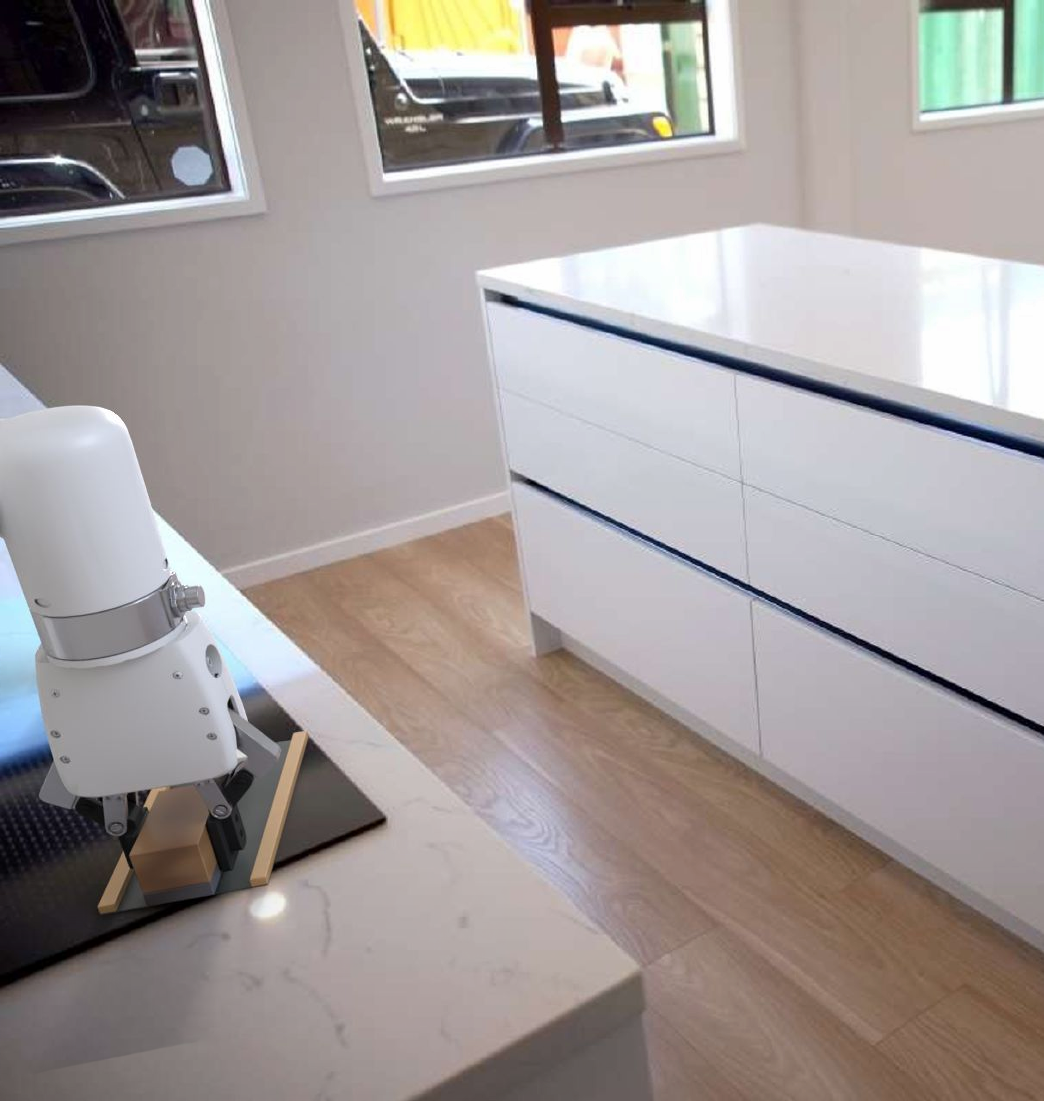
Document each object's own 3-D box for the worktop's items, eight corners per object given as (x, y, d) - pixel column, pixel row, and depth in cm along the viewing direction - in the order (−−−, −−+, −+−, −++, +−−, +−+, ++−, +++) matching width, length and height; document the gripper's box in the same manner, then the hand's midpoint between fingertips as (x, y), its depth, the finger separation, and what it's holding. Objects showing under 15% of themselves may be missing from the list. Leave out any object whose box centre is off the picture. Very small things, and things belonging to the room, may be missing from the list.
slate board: (105, 929, 79) (96, 907, 78) (174, 772, 95) (167, 752, 94) (272, 899, 81) (265, 876, 80) (312, 750, 97) (306, 730, 96)
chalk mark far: (211, 769, 93) (209, 762, 93) (217, 754, 95) (215, 748, 94) (254, 762, 94) (252, 755, 93) (259, 748, 95) (257, 741, 95)
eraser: (146, 907, 78) (128, 855, 77) (174, 839, 84) (158, 790, 83) (214, 895, 79) (197, 843, 77) (237, 829, 85) (222, 780, 84)
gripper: (271, 570, 79) (335, 809, 86) (-20, 609, 76) (73, 853, 84) (247, 623, 72) (319, 877, 80) (-72, 669, 69) (34, 928, 77)
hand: (192, 862), depth 82 cm, fingers closed on eraser, 4 cm apart
